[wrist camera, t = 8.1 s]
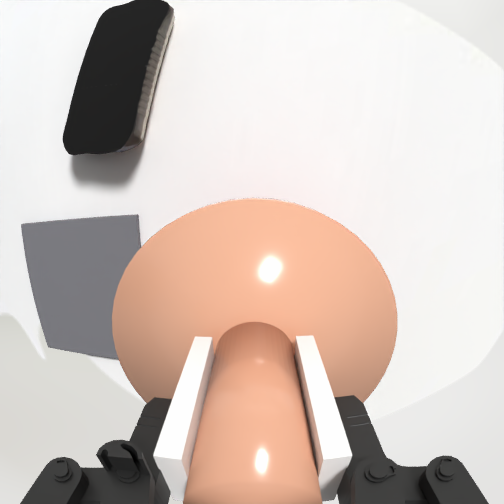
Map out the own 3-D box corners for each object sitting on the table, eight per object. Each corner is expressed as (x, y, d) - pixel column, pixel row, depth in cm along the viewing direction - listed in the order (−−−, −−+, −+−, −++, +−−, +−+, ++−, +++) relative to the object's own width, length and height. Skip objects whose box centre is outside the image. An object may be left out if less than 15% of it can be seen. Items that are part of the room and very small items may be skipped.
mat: (50, 344, 31) (48, 347, 30) (24, 223, 27) (21, 224, 26) (157, 359, 30) (156, 362, 30) (138, 214, 26) (135, 215, 26)
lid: (148, 425, 16) (107, 538, 7) (104, 205, 13) (-57, 251, 4) (363, 423, 16) (404, 537, 7) (401, 200, 12) (563, 242, 4)
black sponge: (145, 158, 26) (130, 155, 22) (75, 152, 25) (55, 150, 22) (184, 12, 22) (175, -6, 18) (113, 16, 21) (100, 2, 18)
